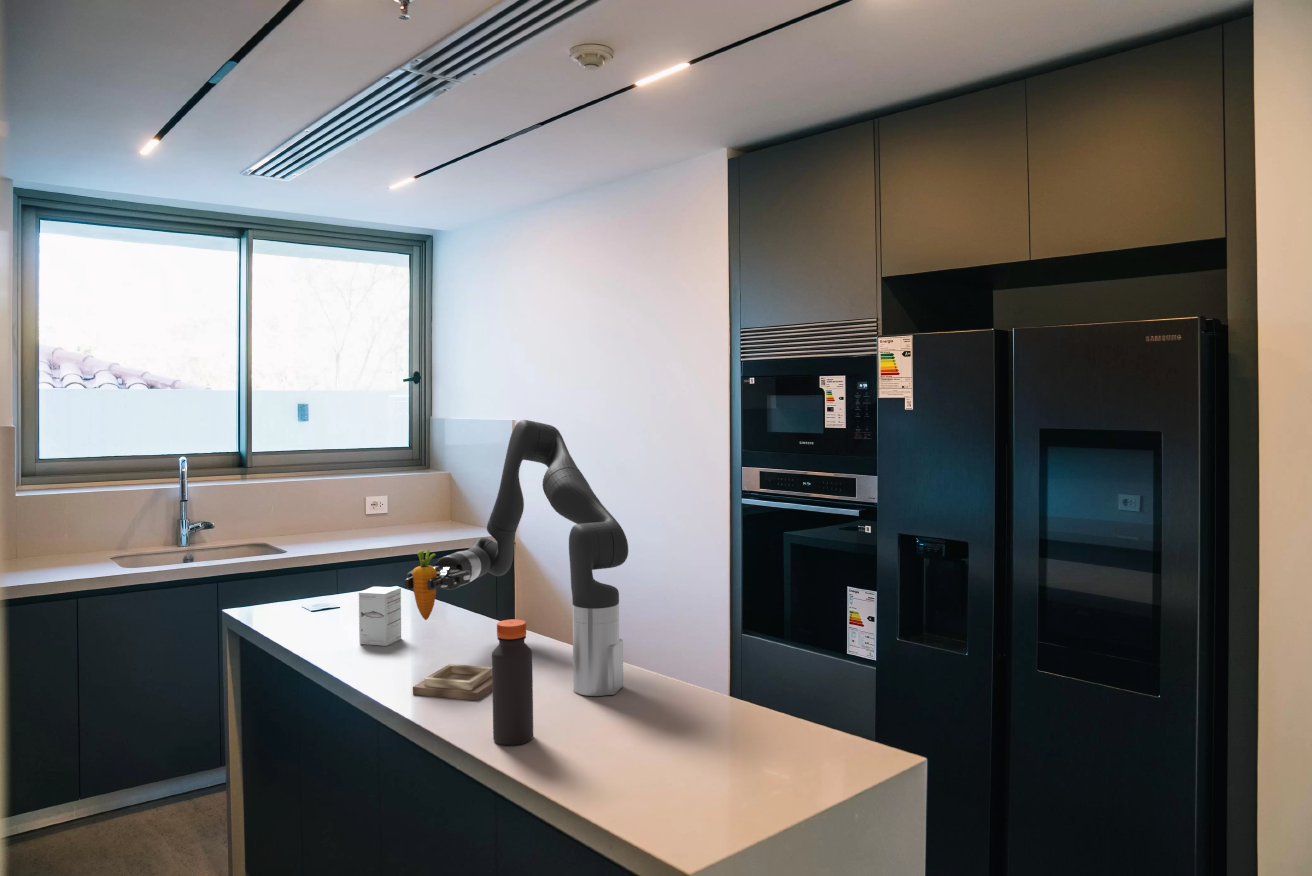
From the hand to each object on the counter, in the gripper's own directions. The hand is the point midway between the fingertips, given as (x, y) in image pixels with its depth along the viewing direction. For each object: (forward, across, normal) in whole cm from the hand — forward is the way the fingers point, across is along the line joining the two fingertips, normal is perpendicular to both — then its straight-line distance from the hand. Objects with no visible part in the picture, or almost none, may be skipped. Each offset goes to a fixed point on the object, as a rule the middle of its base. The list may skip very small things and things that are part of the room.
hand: (418, 584), depth 186 cm
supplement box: (-22, -24, +20) cm, 38 cm away
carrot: (-3, 0, +8) cm, 9 cm away
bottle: (+26, +33, +20) cm, 47 cm away
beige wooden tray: (+4, +11, +20) cm, 23 cm away
